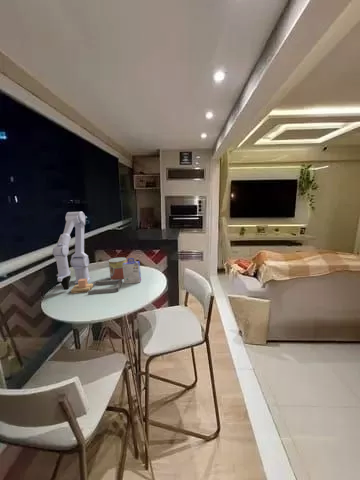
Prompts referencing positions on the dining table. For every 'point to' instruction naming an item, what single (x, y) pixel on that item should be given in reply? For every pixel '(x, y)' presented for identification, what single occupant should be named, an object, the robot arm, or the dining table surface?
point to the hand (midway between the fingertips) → (66, 289)
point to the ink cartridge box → (131, 271)
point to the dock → (106, 288)
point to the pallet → (80, 290)
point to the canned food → (116, 268)
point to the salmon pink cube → (82, 283)
